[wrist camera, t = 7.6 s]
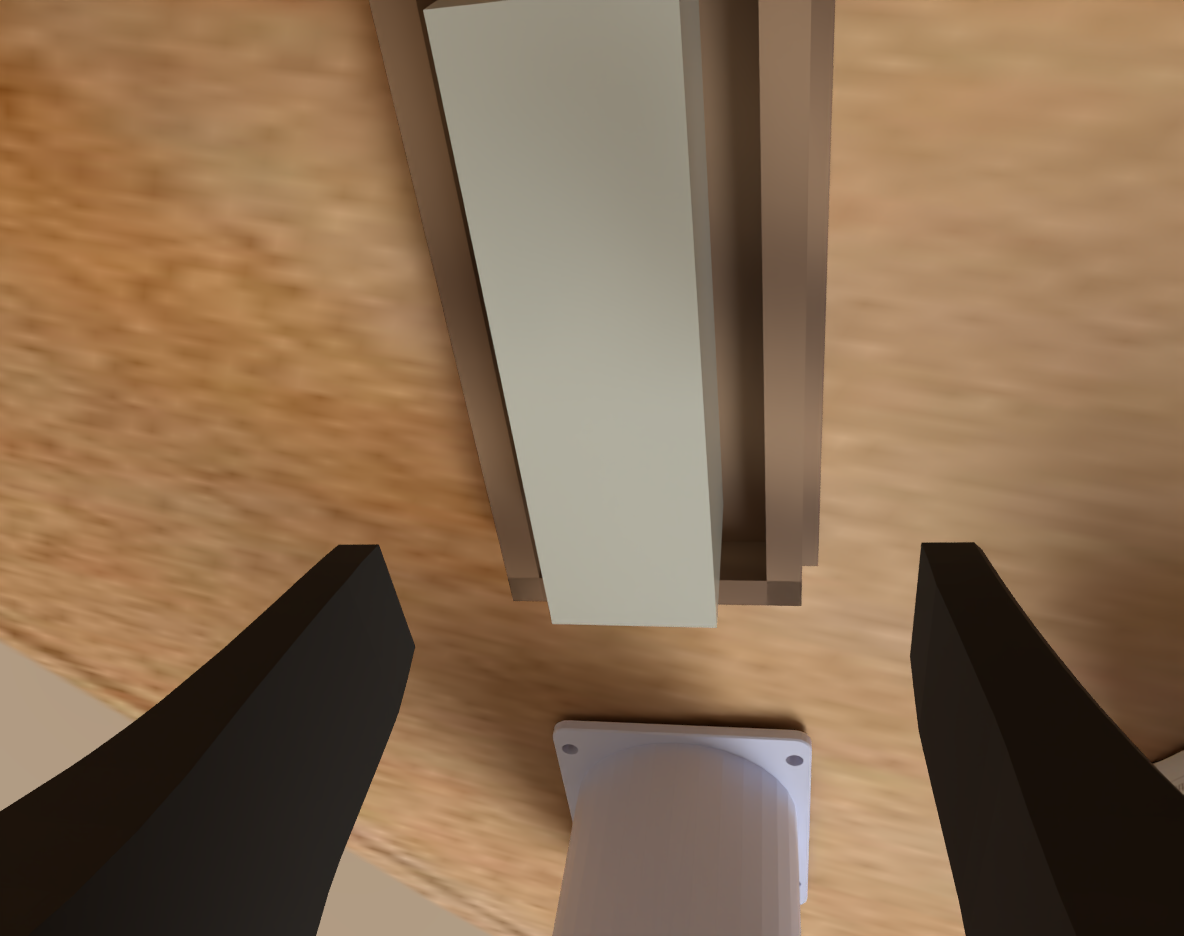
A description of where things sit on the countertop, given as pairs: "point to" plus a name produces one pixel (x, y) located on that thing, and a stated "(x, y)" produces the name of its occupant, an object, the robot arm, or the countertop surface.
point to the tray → (739, 275)
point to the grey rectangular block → (596, 288)
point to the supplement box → (1173, 770)
